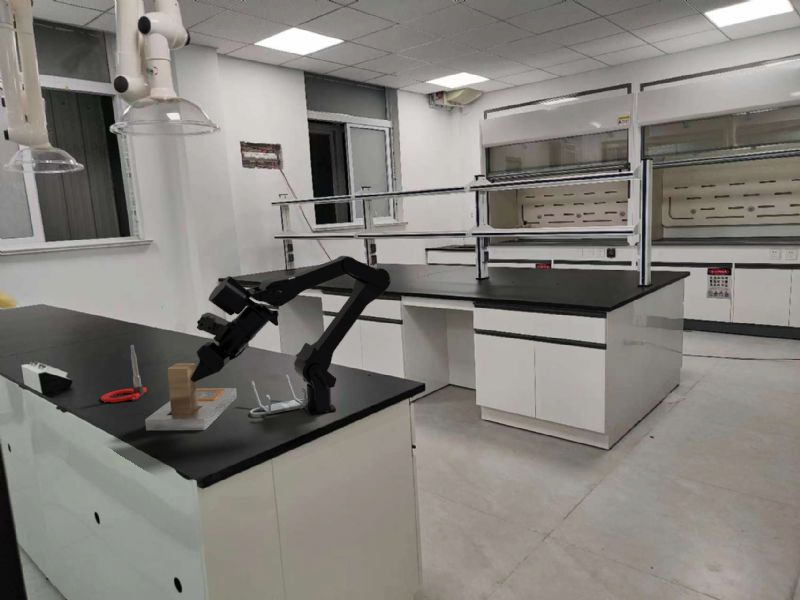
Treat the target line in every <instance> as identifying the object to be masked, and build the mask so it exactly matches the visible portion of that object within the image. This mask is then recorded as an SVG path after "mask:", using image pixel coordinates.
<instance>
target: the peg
mask: <svg viewBox="0 0 800 600" xmlns="http://www.w3.org/2000/svg"><path fill="white" fill-rule="evenodd" d="M195 369H196V363H195V362H194V363H193V362H192V363H190V362H189V363H188V362H187V363H184V362H183V363H174V364H173V365H171V366H170V367H168V368H167V376H168V388H169V389H168V391H169V401H170V404H171V415H193V414H195V413H196V412H197V411H198V396H197V388H198V386H197V385H198V384H197V381H196V382H193V381H192V380H191V377H192V375H193V373H194V371H195Z"/></svg>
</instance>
